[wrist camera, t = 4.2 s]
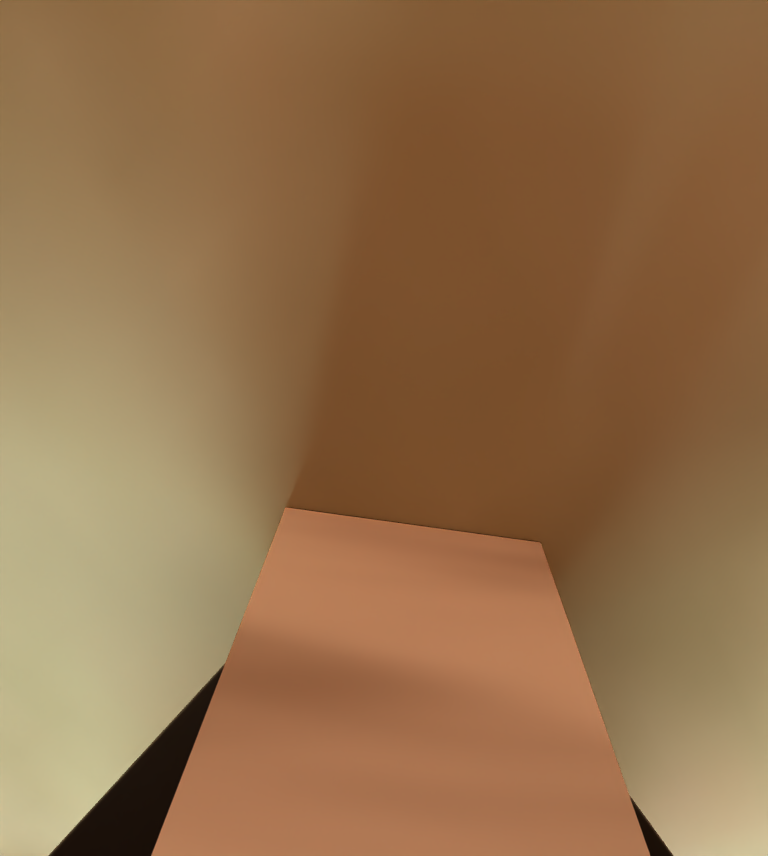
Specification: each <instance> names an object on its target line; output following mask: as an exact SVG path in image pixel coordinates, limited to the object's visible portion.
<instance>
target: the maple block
mask: <svg viewBox="0 0 768 856" xmlns="http://www.w3.org/2000/svg"><path fill="white" fill-rule="evenodd" d="M151 856H650V853H649V851H648V848H647V845H646V842H645V839H644V836H643V833H642V831H641V828H640V825H639V822H638V819H637V816H636V813H635V811H634V808H633V805H632V802H631V799H630V796H629V793H628V791H627V788H626V785H625V782H624V779H623V776H622V773H621V771H620V768H619V765H618V762H617V759H616V756H615V753H614V751H613V748H612V745H611V742H610V739H609V736H608V733H607V731H606V728H605V725H604V722H603V719H602V716H601V713H600V711H599V708H598V705H597V702H596V699H595V696H594V693H593V691H592V688H591V685H590V682H589V679H588V676H587V673H586V671H585V668H584V665H583V662H582V659H581V656H580V653H579V651H578V648H577V645H576V642H575V639H574V636H573V633H572V631H571V628H570V625H569V622H568V619H567V616H566V613H565V611H564V608H563V605H562V602H561V599H560V596H559V593H558V591H557V588H556V585H555V582H554V579H553V576H552V573H551V571H550V568H549V565H548V562H547V559H546V556H545V553H544V551H543V548H542V545H541V543H540V542H533V541H526V540H519V539H511V538H504V537H497V536H489V535H482V534H475V533H468V532H460V531H453V530H446V529H439V528H431V527H424V526H417V525H410V524H402V523H395V522H388V521H381V520H373V519H366V518H359V517H352V516H344V515H337V514H330V513H322V512H315V511H308V510H301V509H293V508H286V507H285V510H284V512H283V515H282V518H281V520H280V523H279V525H278V528H277V531H276V533H275V536H274V538H273V541H272V544H271V546H270V549H269V551H268V554H267V557H266V559H265V562H264V564H263V567H262V570H261V572H260V575H259V577H258V580H257V583H256V585H255V588H254V590H253V593H252V596H251V598H250V601H249V603H248V606H247V609H246V611H245V614H244V616H243V619H242V622H241V624H240V627H239V629H238V632H237V634H236V637H235V640H234V642H233V645H232V647H231V650H230V653H229V655H228V658H227V660H226V663H225V666H224V668H223V671H222V673H221V676H220V679H219V681H218V684H217V686H216V689H215V692H214V694H213V697H212V699H211V702H210V705H209V707H208V710H207V712H206V715H205V718H204V720H203V723H202V725H201V728H200V731H199V733H198V736H197V738H196V741H195V744H194V746H193V749H192V751H191V754H190V756H189V759H188V762H187V764H186V767H185V769H184V772H183V775H182V777H181V780H180V782H179V785H178V788H177V790H176V793H175V795H174V798H173V801H172V803H171V806H170V808H169V811H168V814H167V816H166V819H165V821H164V824H163V827H162V829H161V832H160V834H159V837H158V840H157V842H156V845H155V847H154V850H153V853H152V855H151Z"/></svg>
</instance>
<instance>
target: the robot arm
mask: <svg viewBox="0 0 768 856" xmlns="http://www.w3.org/2000/svg"><path fill="white" fill-rule="evenodd" d="M224 666H225V664H224V665H223V666H222V667H221V668H220V669H219V671H218V672H217V673H216V674H215V675H214V676H213V677H212V678H211V679H210V680H209V681H208V683H207V684H206V685H205V686H204V687H203V688H202V689H201V690H200V691H199V692H198V693H197V695H196V696H195V697H194V698H193V699H192V700H191V701H190V702H189V703H188V704H187V705H186V707H185V708H184V709H183V710H182V711H181V712H180V713H179V714H178V715H177V716H176V717H175V718H174V720H173V721H172V722H171V723H170V724H169V725H168V726H167V727H166V728H165V729H164V730H163V732H162V733H161V734H160V735H159V736H158V737H157V738H156V739H155V740H154V741H153V742H152V744H151V745H150V746H149V747H148V748H147V749H146V750H145V751H144V752H143V753H142V754H141V756H140V757H139V758H138V759H137V760H136V761H135V762H134V763H133V764H132V765H131V766H130V767H129V769H128V770H127V771H126V772H125V773H124V774H123V775H122V776H121V777H120V778H119V779H118V781H117V782H116V783H115V784H114V785H113V786H112V787H111V788H110V789H109V790H108V791H107V793H106V794H105V795H104V796H103V797H102V798H101V799H100V800H99V801H98V802H97V803H96V804H95V806H94V807H93V808H92V809H91V810H90V811H89V812H88V813H87V814H86V815H85V816H84V818H83V819H82V820H81V821H80V822H79V823H78V824H77V825H76V826H75V827H74V828H73V830H72V831H71V832H70V833H69V834H68V835H67V836H66V837H65V838H64V839H63V840H62V842H61V843H60V844H59V845H58V846H57V847H56V848H55V849H54V850H53V851H52V852H51V853H50V855H49V856H151V855H152V853H153V850H154V847H155V845H156V842H157V840H158V837H159V834H160V832H161V829H162V827H163V824H164V821H165V819H166V816H167V814H168V811H169V808H170V806H171V803H172V801H173V798H174V795H175V793H176V790H177V788H178V785H179V782H180V780H181V777H182V775H183V772H184V769H185V767H186V764H187V762H188V759H189V756H190V754H191V751H192V749H193V746H194V744H195V741H196V738H197V736H198V733H199V731H200V728H201V725H202V723H203V720H204V718H205V715H206V712H207V710H208V707H209V705H210V702H211V699H212V697H213V694H214V692H215V689H216V686H217V684H218V681H219V679H220V676H221V673H222V671H223V668H224ZM629 796H630V795H629ZM630 799H631V802H632V805H633V808H634V811H635V813H636V816H637V819H638V822H639V825H640V828H641V831H642V833H643V836H644V839H645V842H646V845H647V848H648V851H649V853H650V856H673V854H672V853H671V852H670V850H669V849H668V848H667V846H666V845H665V843H664V842H663V841H662V839H661V838H660V837H659V835H658V834H657V832H656V831H655V830H654V828H653V827H652V826H651V824H650V823H649V821H648V820H647V819H646V817H645V816H644V815H643V813H642V812H641V810H640V809H639V808H638V806H637V805H636V804H635V802H634V801H633V799H632V798H631V797H630Z"/></svg>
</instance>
